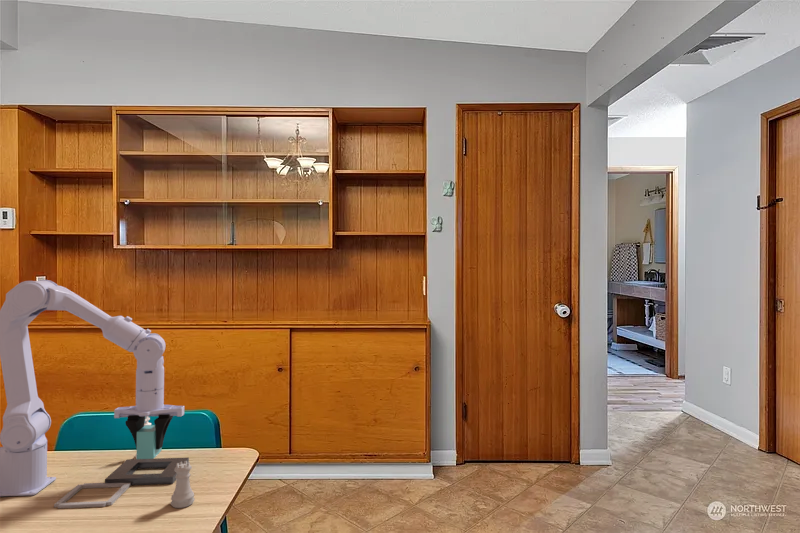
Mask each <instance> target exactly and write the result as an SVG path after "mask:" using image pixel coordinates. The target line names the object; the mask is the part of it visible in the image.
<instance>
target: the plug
mask: <svg viewBox="0 0 800 533" xmlns="http://www.w3.org/2000/svg"><path fill="white" fill-rule="evenodd" d="M161 452H162V447H161V448H160V449H156V429H155V424H151V425H145V426H144V427H143V428H141V429H140V430H139V431H138V432H137V450H136V454H137V456H136V455H135V457H136V458H135V459H156V457H157V456H158V455H159V454H160V453H161Z"/></svg>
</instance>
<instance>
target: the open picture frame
mask: <svg viewBox="0 0 800 533" xmlns="http://www.w3.org/2000/svg"><path fill="white" fill-rule="evenodd" d="M130 486H132V485H131V483H105V482H90V483H89V482H88V483H86V482H85V483H83V484H82V483H81V484H77V485H76V486H75V487H74V488H72V489H71V490H70V491H69V492H67V493H66V494H65V495H64V496H62V497H61V498H60V499H59V500H57V501H56V502H55V503H54V504H53V508H57V509H73V508H74V509H77V508H101V507H107V506H112V505H113V504H114V503H115V502H116V501H117V500H118V499H119V498H120V497H121V496H122V495H123V494H124V493H125V492H126V491H127V490H128V489H129V488H130ZM99 488H102V489H103V488H119V489H118V490H117V491H116V492H115V493H114V494H113V495H112V496H111V497H110V498H109V499H108V500H105V501H104V500H102V501H101V500H100V501H98V500H97V501H78V502H77V501H74V502H68V501H69V500H70V499H71V498H72V497H73V496H74V495H76V494H78V492H79V491H81V490H82V489H99Z"/></svg>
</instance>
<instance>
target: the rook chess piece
mask: <svg viewBox="0 0 800 533" xmlns="http://www.w3.org/2000/svg"><path fill="white" fill-rule="evenodd" d="M192 468H193V467H192V465H191V463H190V461H189V462H188V464H187V461H184V464H182V462H179V463H177V464H176V467H175V469H174V471H175V472H176V473H177V475H176V476H175V478H176V480H175V482H176V483H175V489H174V491H173V494H172V495H171V497H170V500H171V501H170V505H171V507H172V508H175V509H184V508H187V507H190V506H191V505H193V503H194V502H195V493H194V491H193V488H191V483H190V477H191V473H190V471H191V470H192Z"/></svg>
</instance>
